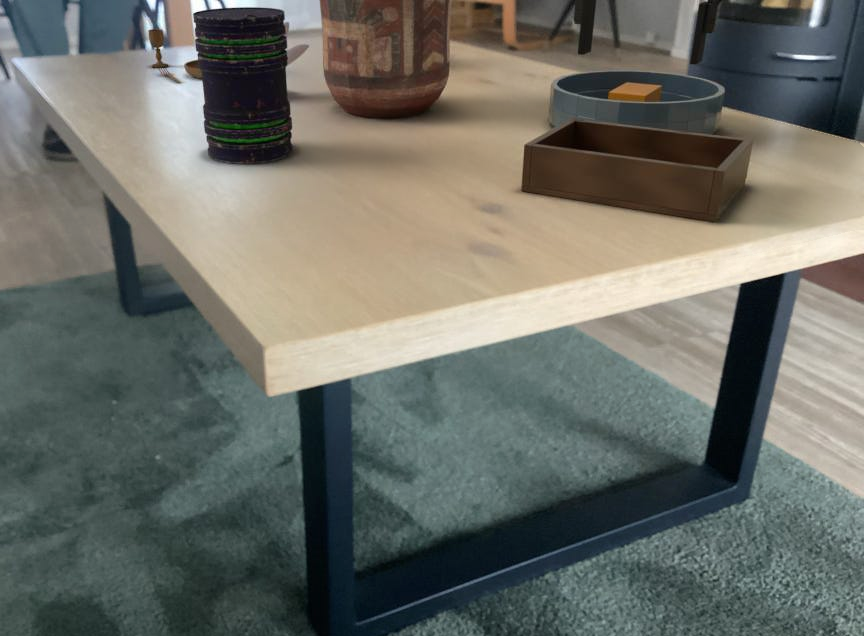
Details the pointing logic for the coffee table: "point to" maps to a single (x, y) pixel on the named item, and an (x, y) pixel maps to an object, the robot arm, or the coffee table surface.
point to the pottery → (386, 54)
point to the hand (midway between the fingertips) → (638, 58)
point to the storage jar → (244, 83)
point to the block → (636, 92)
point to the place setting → (190, 67)
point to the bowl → (677, 110)
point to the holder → (638, 167)
